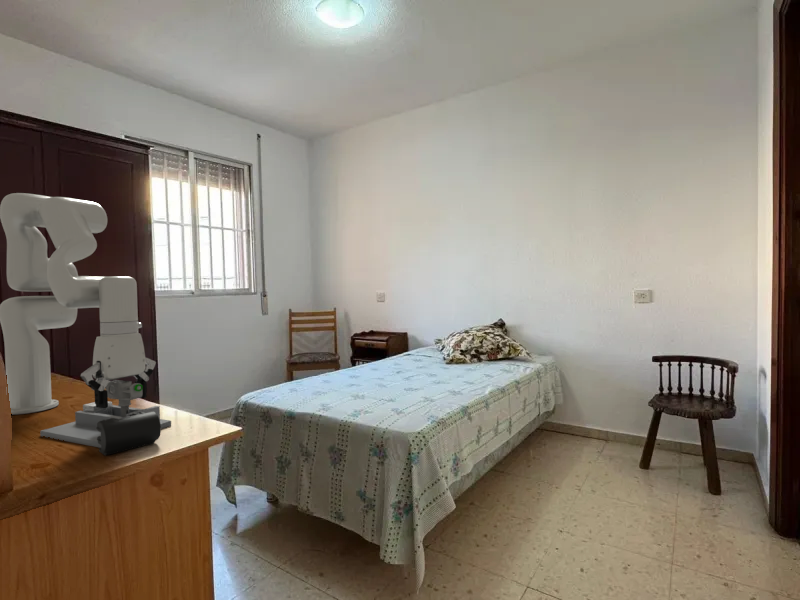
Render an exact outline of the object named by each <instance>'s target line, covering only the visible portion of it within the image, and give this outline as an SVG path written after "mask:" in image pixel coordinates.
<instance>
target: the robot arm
mask: <svg viewBox="0 0 800 600" xmlns="http://www.w3.org/2000/svg"><path fill="white" fill-rule="evenodd" d="M106 212H107V211H106V210H105V209H104V208H103V207H102V206H101V204H99V203H97V202H94V201H90V200H84V199H78V198H72V197H66V196H47V195H42V194H34V193H24V192H16V193H15V192H14V193H10V194H9V193H8V194H7V195H5V196H4V197H3V198H2V200H1V202H0V222H1V226H2V228H3V231H4V233H5V237H6V281H7V285H8V286H9V288H11V289H12V290H14V291H18V292H52V294H53V295H29V296H28V295H25V296H24V295H23V296H14V297H9V298H7V299H5V300H3V301H2V302H1V303H0V327H1V330H2V334H3V342H4V343H3V344H4V359H5V360H4V361H5V376H6V375H7V384H8V393H9V401H10V408H11V413H12V415H24V414H25V415H26V414H31V413H37V412H42V411H46V410H50V409H54V408H56V407H58V406H59V403H60V402H59V400H57V399H52V379H51V378H52V375H51V374H52V373H51V357H50V356H51V351H50V344H49V342H48V340H47V339H46V338H45V337H44V336H43V335H42V334H41V333H40V332H39V331H40V330H50V329H61V328H63V329H64V328H67V327H71V326H72V325H74V324H75V322H76V320H77V317H78V309H89V308H90V309H91V308H95V309H96V308H99V330H100V331H99V332H100V336H96V339H95V340H94V341H95V342H94V347H93V354H92V355H93V356H92V365H91V366H90V367H89V368H86V370H84V371H83V372H81V373H80V378H81V379H82V380H83V382H84V383H85V385H87V386H88V387H89V388H90V389H91V391H94V402H95V404H96V407H98V408H107V407H108V401H109V398H108V394H107V390H106V386H107V384H108V383H109V382H110V381H115V380H120V379H123V378H125V379H126V378H130V377H134V378H135V379H136V380H135V381H134V383H140V384H141V385H142V386H143V388H142V391H143V394H142V397H141V398H140V399H145V398H147V392H148V391H147V390H148V389H147V386H148V384H147V383H148V381H149V380H150V376H151V375H152V374H153V372H154V369H155V367H156V363H157V362H156V361H155V360H152V359H151V358H149V357H146V353H145V346H144V341H143V338H142V334H141V333H139V329H142V328H143V323H142V322H139V317H138V315H139V314H138V311H139V309H138V287H137V286H138V285H137V283H138V282H137V281H136V279H135V278H134V277H131V276H126V275H125V276H116V275H115V276H98V275H97V276H91V275H90V276H89V275H79V274H78V269H77V267H76V265H74V263H75V262H78V261H81V260H83V259H86V258H88V257H90V256H92V254H93V253H94V252H95V251H96V249H97V247H98V243H97V240H96V238H95V237H94V234H98V233H102V232H103V231H105V229H106V228H107V225H108V216H107V215H108V214H107V213H106ZM38 227H39V228H45V230H46V231H47V233H48V235H49V237H50V239H51V241H52V243H53V245H54V248H55V251H53V253H52V254H51V256H50V257H48V242H47V239H46V237H45V236H44V235H43V234H42V232H41V231H40V230H39V229H38ZM12 415H11V416H12Z"/></svg>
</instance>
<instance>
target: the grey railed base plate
mask: <svg viewBox="0 0 800 600" xmlns="http://www.w3.org/2000/svg"><path fill="white" fill-rule="evenodd" d="M160 410H161V409H160V405H154V406H151V407H147V408H137V407H130V406H129V413H128V414H126V417H130V415H131V414H133V413H134V414H136V413H139V412H144V413H149V412H153V411H154V412H156V413H157V415H158V417H159V420H160V425H161V430H162V429H165V428H169V427H171V426H172V420H169V419H162V418H161V412H160ZM112 411H113V415H107V414H100V413H93V412H86V411H83V410H78V411H75V412H74V414H75V415H74V416H75V421H72V422H69V423H64V424H61V425H57V426H53V427H49V428H44V429H42V430H40V434H39V435H40V437H43V436H45V437H44V438H48V437H50V438H49V439H53V438H54V439H55V440H58V439H59V441H63V440H64V441H63V442H69V443H74V444H79V445H85V446H90V447H95V448H98V449H99V448H101V445H100V444H98V440H97V438H98V436H101V432H99V431H98V430H97V429H96V428H97V423H98V422H99V421H102V420H104V419H105V420H107V419H110V418H115V419H120V418H125V417H121V407H119V406H118V405H115V404H112Z"/></svg>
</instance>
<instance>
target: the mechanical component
mask: <svg viewBox="0 0 800 600" xmlns="http://www.w3.org/2000/svg"><path fill="white" fill-rule="evenodd" d="M142 388H143V386H142V385H141V384H140V383H135V382H134V383H132V381H131V380H123V379H122V380H120V379H115V380H110V381H109V383H108V384H107V386H106V387H105V390H107V394H108V399H111V400H118V404H117V406H119V407H121V417H126V414H128V413H129V407H130V406H131V405H132V403H131V401H132V400H137V399H142V398H141V397H142V394H143V391H142Z"/></svg>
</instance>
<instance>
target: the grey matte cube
mask: <svg viewBox="0 0 800 600" xmlns="http://www.w3.org/2000/svg"><path fill="white" fill-rule="evenodd" d="M112 405H113V402H112V401H109V400H108V407H107V408H98V407H96V404H95V401H94V402H90V403H85V404H83V405H82V411H86V412H93V413H100V414H107V415H113V411H112Z"/></svg>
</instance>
